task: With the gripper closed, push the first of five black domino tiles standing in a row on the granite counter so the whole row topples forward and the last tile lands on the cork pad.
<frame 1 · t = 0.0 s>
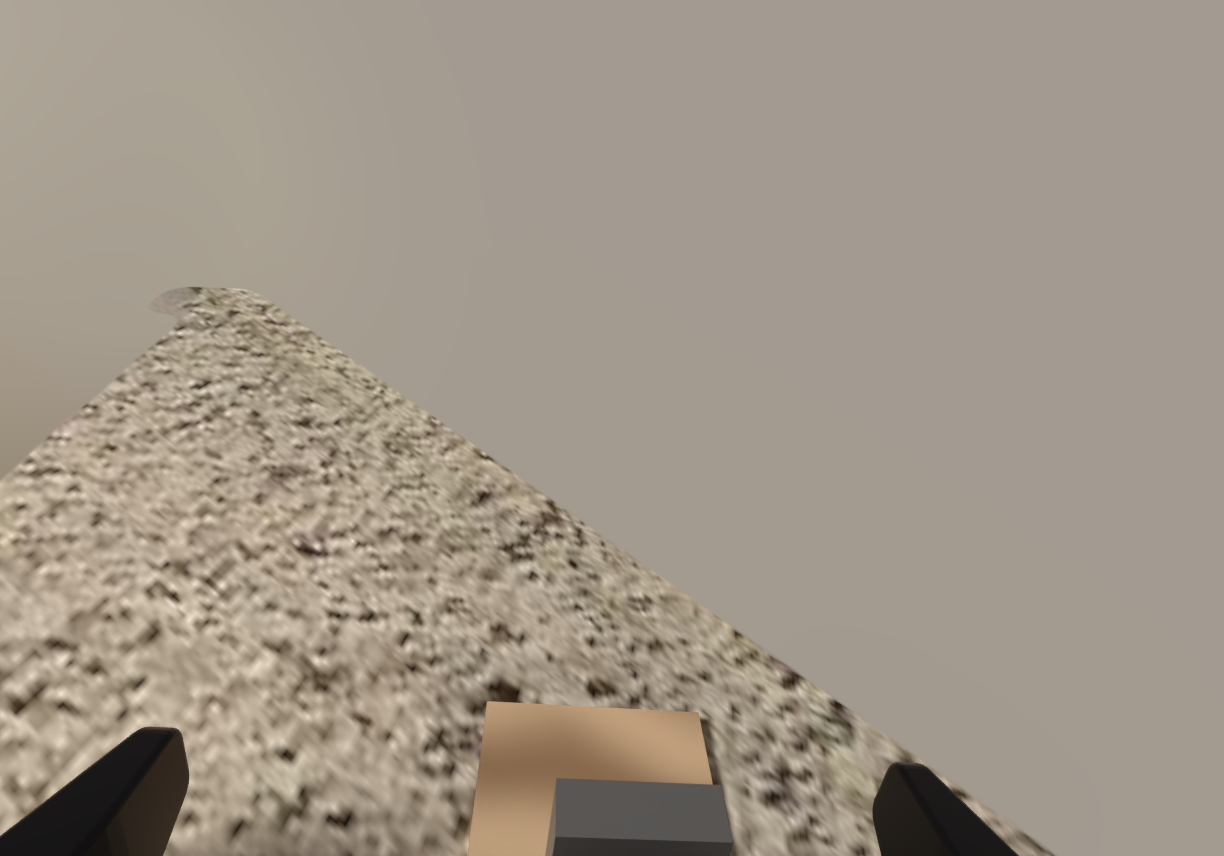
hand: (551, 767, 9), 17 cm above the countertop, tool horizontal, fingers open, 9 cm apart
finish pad: (596, 801, 27), on the countertop
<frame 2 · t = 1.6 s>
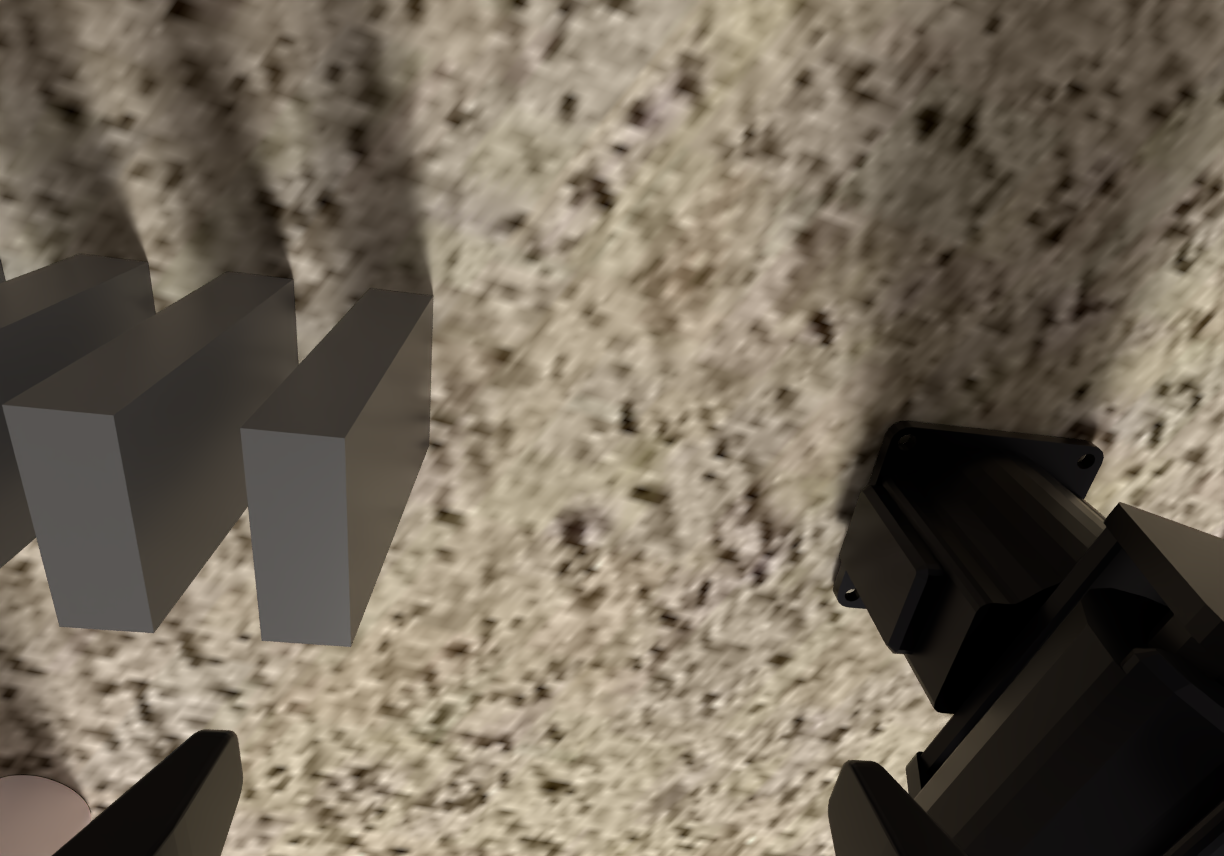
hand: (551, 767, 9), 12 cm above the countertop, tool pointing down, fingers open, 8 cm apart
tile3: (127, 341, 19), on the countertop
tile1: (401, 371, 20), on the countertop
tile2: (266, 356, 19), on the countertop
smoothie: (40, 804, 27), on the countertop
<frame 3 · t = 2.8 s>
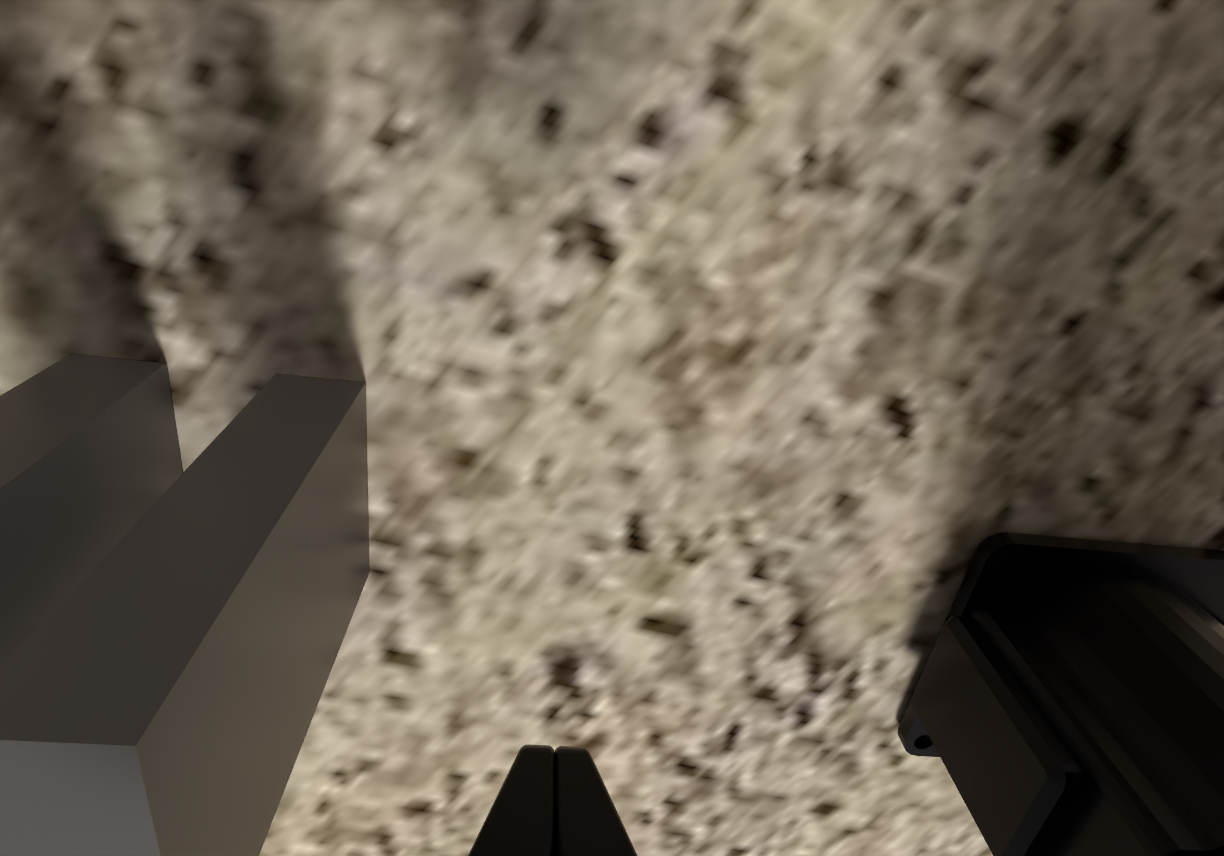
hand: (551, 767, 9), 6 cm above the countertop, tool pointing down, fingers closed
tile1: (326, 480, 14), on the countertop
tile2: (138, 464, 14), on the countertop
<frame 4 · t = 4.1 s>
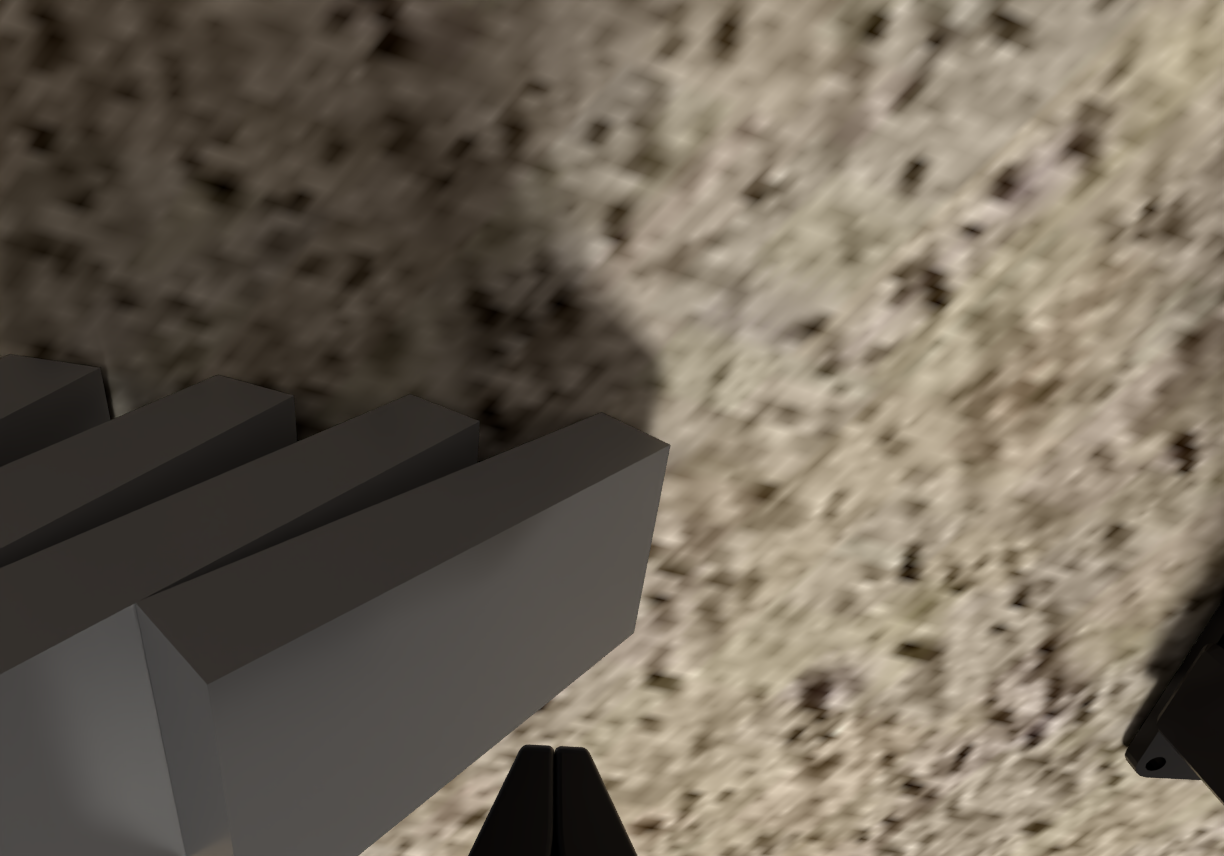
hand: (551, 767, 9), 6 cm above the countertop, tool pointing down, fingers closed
tile3: (265, 490, 14), on the countertop, tilted 20°, touching tile4
tile4: (79, 469, 14), on the countertop, tilted 7°, touching tile3
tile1: (618, 526, 14), point 1 cm above the countertop, tilted 42°
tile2: (440, 509, 14), on the countertop, tilted 31°
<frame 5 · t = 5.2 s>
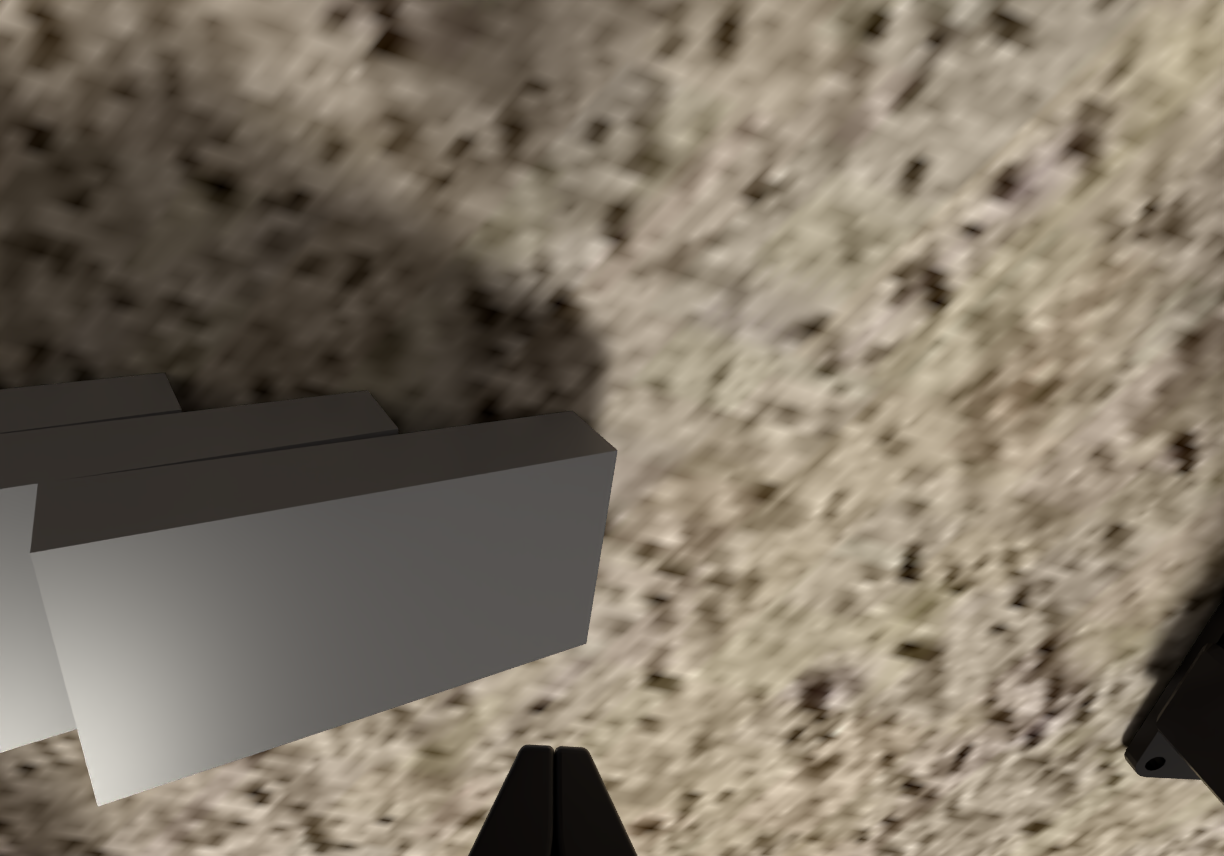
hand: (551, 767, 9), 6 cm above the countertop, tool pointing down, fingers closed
tile3: (187, 499, 13), point 1 cm above the countertop, tilted 56°, touching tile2, tile4
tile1: (579, 530, 14), point 1 cm above the countertop, tilted 61°, touching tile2
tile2: (382, 513, 14), point 1 cm above the countertop, tilted 59°, touching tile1, tile3
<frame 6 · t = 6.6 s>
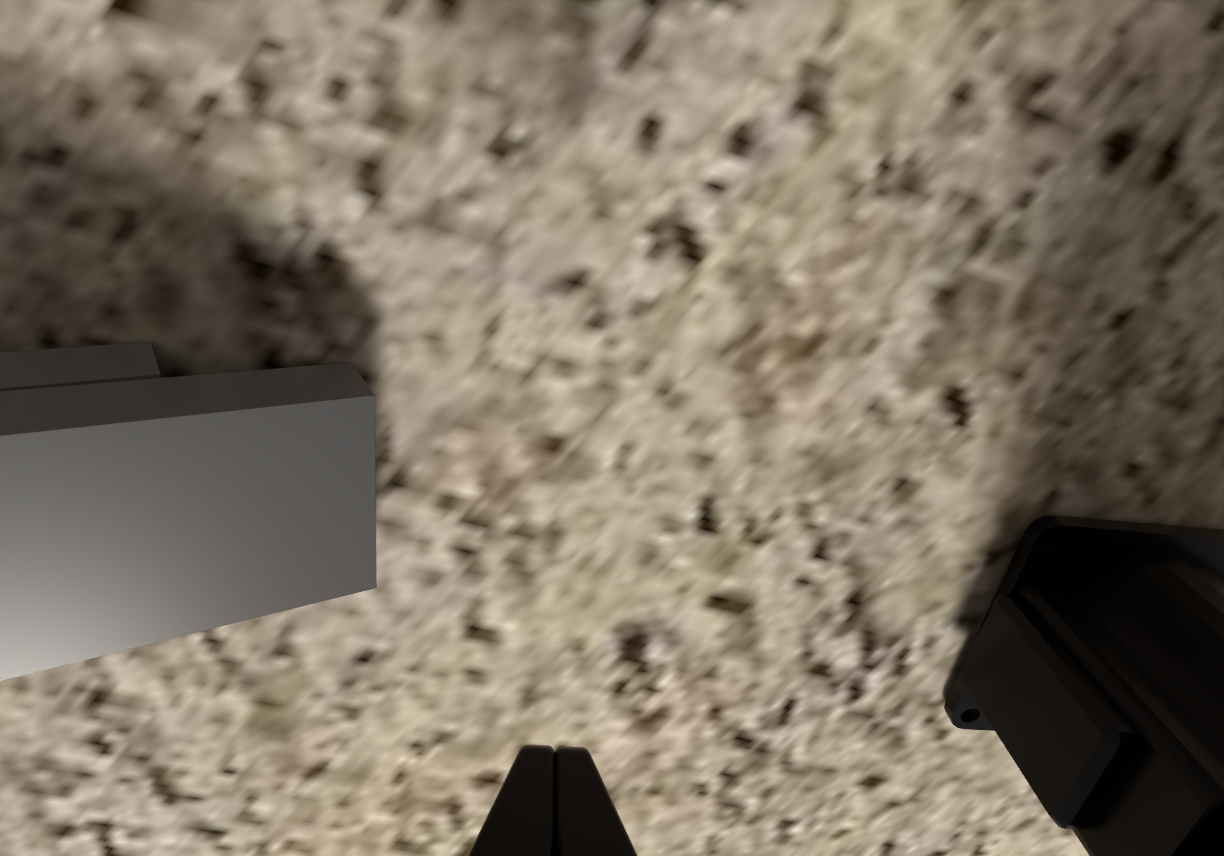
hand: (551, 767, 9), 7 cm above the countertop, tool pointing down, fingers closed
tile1: (364, 478, 15), point 1 cm above the countertop, tilted 61°, touching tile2
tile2: (170, 461, 14), point 1 cm above the countertop, tilted 59°, touching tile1, tile3
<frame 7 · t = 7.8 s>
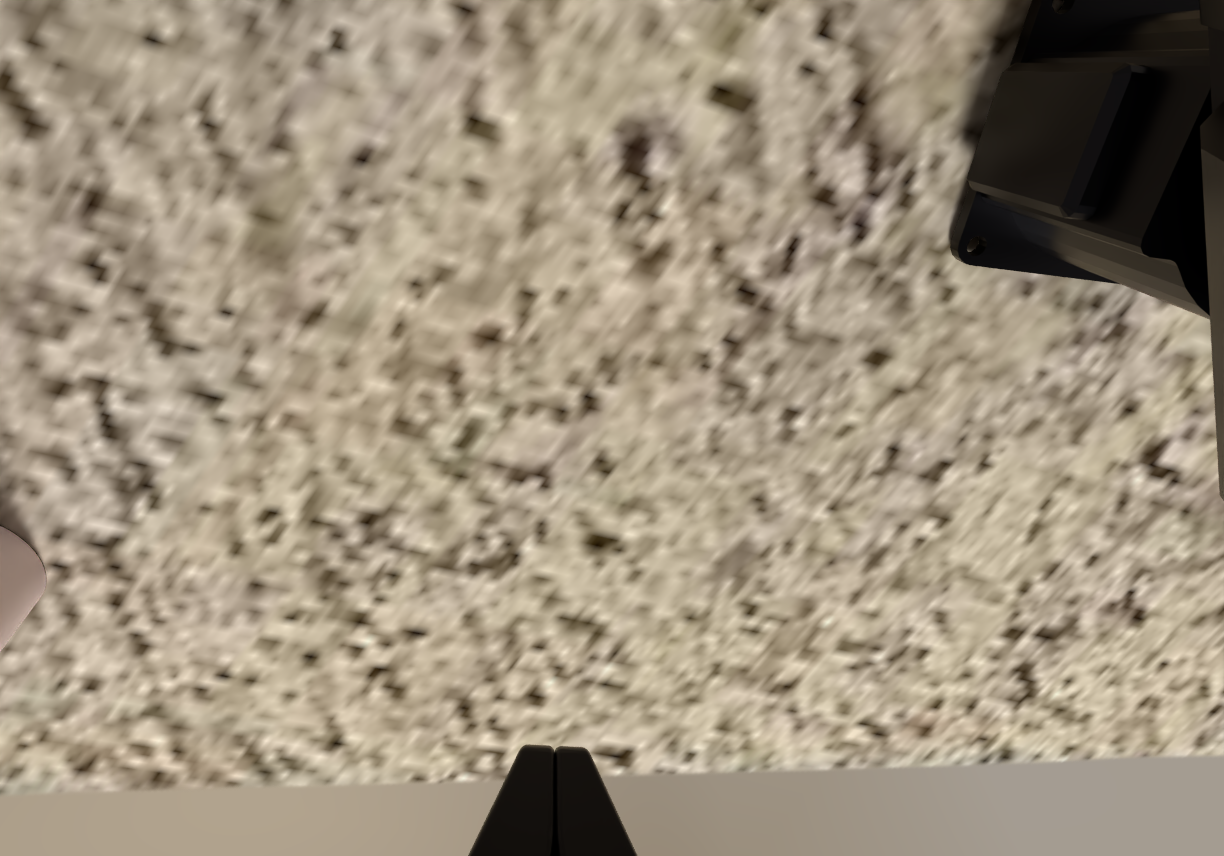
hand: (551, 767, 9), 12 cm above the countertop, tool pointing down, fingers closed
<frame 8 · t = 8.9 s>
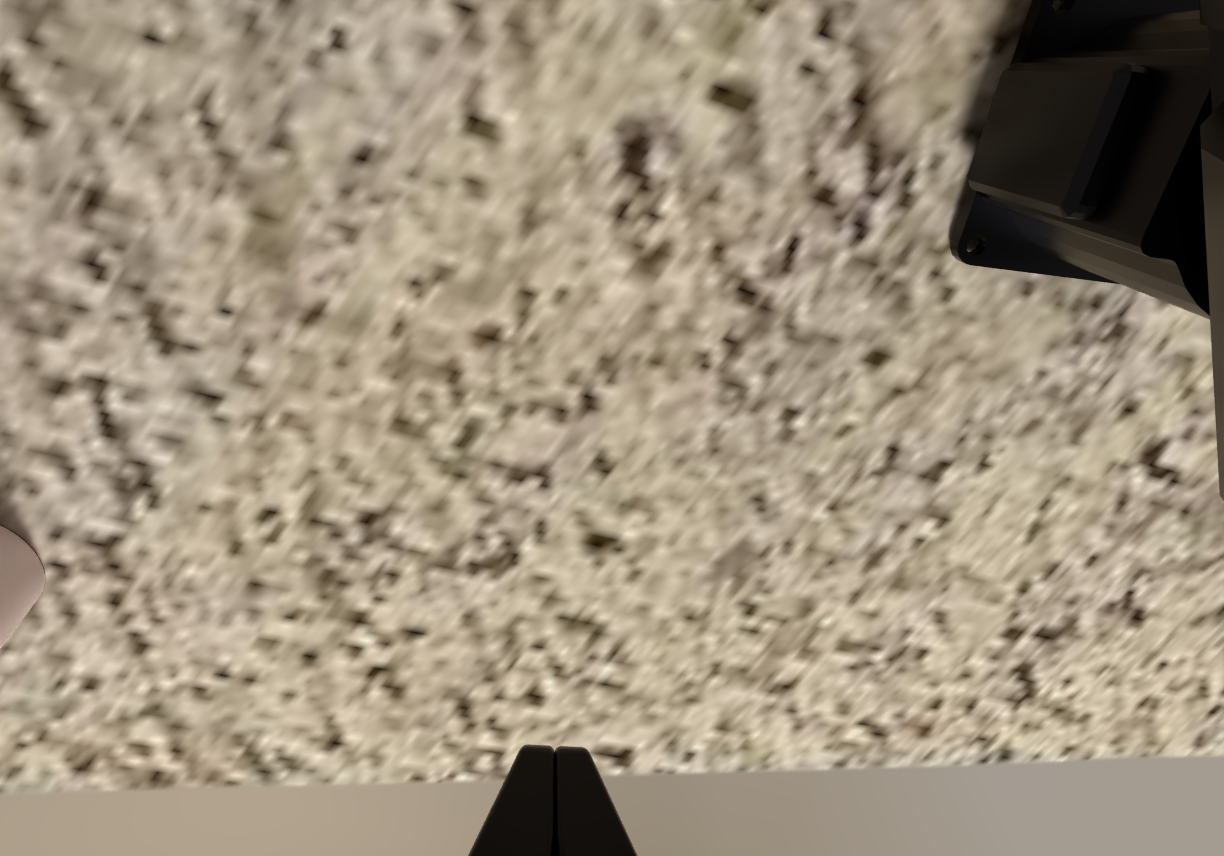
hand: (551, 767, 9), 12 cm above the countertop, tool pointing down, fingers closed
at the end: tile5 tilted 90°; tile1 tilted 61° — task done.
